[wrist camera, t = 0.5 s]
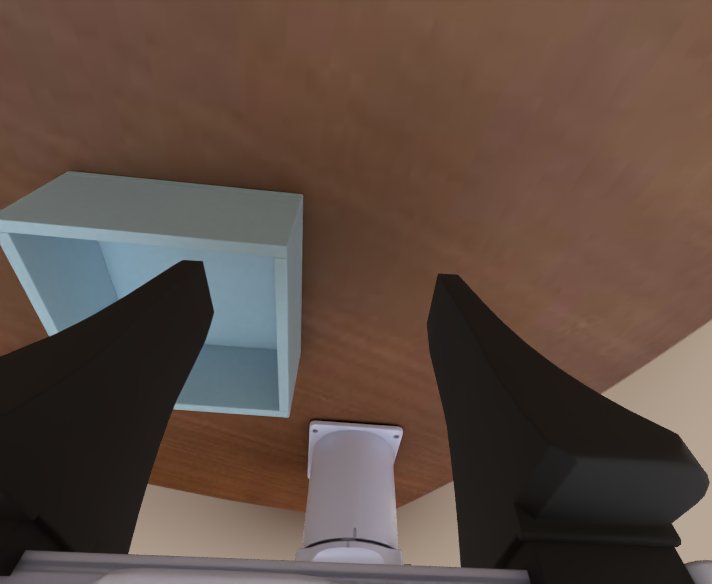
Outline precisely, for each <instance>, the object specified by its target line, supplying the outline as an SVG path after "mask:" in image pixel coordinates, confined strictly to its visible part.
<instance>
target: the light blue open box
mask: <svg viewBox="0 0 712 584" xmlns="http://www.w3.org/2000/svg"><path fill="white" fill-rule="evenodd" d="M302 242H303V194H296V193H286V192H275V191H265V190H255V189H245V188H235V187H225V186H215V185H205V184H195V183H185V182H175V181H165V180H155V179H145V178H135V177H125V176H115V175H105V174H95V173H84V172H74V171H68V172H66V173H64V174H62V175H61V176H59V177H57V178H56V179H54V180H52V181H50V182H49V183H47V184H45V185H43V186H42V187H40V188H38V189H37V190H35V191H33V192H31V193H30V194H28V195H26V196H25V197H23V198H21V199H19V200H18V201H16V202H14V203H12V204H11V205H9V206H7V207H6V208H4V209H2V210H0V245H1V247H2V249H3V251H4V252H5V254H6V256H7V258H8V260H9V262H10V264H11V266H12V267H13V269H14V271H15V273H16V275H17V277H18V279H19V281H20V282H21V284H22V286H23V288H24V290H25V292H26V294H27V296H28V297H29V299H30V301H31V303H32V305H33V307H34V309H35V311H36V312H37V314H38V316H39V318H40V320H41V322H42V324H43V325H44V327H45V329H46V331H47V333H48V335H49V336H51V335H54V334H56V333H58V332H60V331H62V330H64V329H66V328H68V327H70V326H72V325H74V324H77V323H78V322H80V321H82V320H84V319H86V318H88V317H90V316H92V315H94V314H95V313H97V312H99V311H101V310H102V309H104V308H106V307H107V306H109V305H111V304H113V303H114V302H116V301H118V300H119V299H121V298H123V297H124V296H126V295H128V294H129V293H131V292H132V291H134V290H136V289H137V288H139V287H140V286H142V285H143V284H145V283H147V282H148V281H150V280H151V279H153V278H154V277H156V276H157V275H159V274H160V273H162V272H164V271H165V270H167V269H168V268H170V267H171V266H173V265H175V264H176V263H178V262H180V261H182V260H193V261H203V264H204V268H205V273H206V277H207V282H208V286H209V291H210V295H211V300H212V304H213V309H214V315H213V319H212V322H211V326H210V329H209V332H208V335H207V338H206V341H205V343H204V345H203V347H202V349H201V351H200V354H199V356H198V358H197V360H196V362H195V364H194V366H193V368H192V370H191V372H190V374H189V376H188V378H187V380H186V382H185V384H184V387H183V389H182V391H181V393H180V395H179V397H178V399H177V401H176V403H175V406H174V408H173V409H178V410H192V411H205V412H219V413H233V414H247V415H260V416H274V417H289V415H290V410H291V404H292V399H293V393H294V387H295V382H296V376H297V371H298V365H299V360H300V354H301V306H302Z"/></svg>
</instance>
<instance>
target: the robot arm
mask: <svg viewBox="0 0 712 584" xmlns="http://www.w3.org/2000/svg"><path fill="white" fill-rule="evenodd" d="M213 315H214V309H213V304H212V300H211V295H210V291H209V286H208V282H207V277H206V273H205V268H204V264H203V261H193V260H182V261H180V262H178V263H176V264H175V265H173V266H171V267H170V268H168V269H167V270H165V271H164V272H162V273H160V274H159V275H157V276H156V277H154V278H153V279H151V280H150V281H148V282H147V283H145V284H143V285H142V286H140V287H139V288H137V289H136V290H134V291H132V292H131V293H129V294H128V295H126V296H124V297H123V298H121V299H119V300H118V301H116V302H114V303H113V304H111V305H109V306H107V307H106V308H104V309H102V310H101V311H99V312H97V313H95V314H94V315H92V316H90V317H88V318H86V319H84V320H82V321H80V322H78V323H77V324H74V325H72V326H70V327H68V328H66V329H64V330H62V331H60V332H58V333H56V334H54V335H51V336H49V337H47V338H45V339H42V340H40V341H37V342H35V343H33V344H30V345H28V346H25V347H23V348H21V349H18V350H16V351H13V352H11V353H9V354H6V355H3V356H1V357H0V584H712V561H710V560H709V561H708V560H703V561H694V562H689V563H686V564H684V563H683V562H682V560H681V558H680V556H679V555H678V553H677V551H676V549H675V547H678V546H679V545H681V539H680V537H679V536H678V534H677V532H676V530H675V529H674V527H673V525H672V524H671V523H673V522H674V521H675V520H676V519H678V518H679V517H680V516H681V515H683V514H684V513H685V512H687V511H688V510H689V509H690V508H692V507H693V506H694V505H696V504H697V503H698V502H699V501H700V500H701V499H702V498H703V497H704V496H705V494H706V491H707V488H708V486H709V479H708V475H707V474H706V472H705V471H704V470H703V468H702V467H701V465H700V464H699V463H698V461H697V460H696V458H695V457H694V456H693V454H692V453H691V452H690V450H689V449H688V447H687V446H686V445H685V443H684V442H683V441H682V439H681V438H680V437H679V435H678V434H676V433H674V432H672V431H670V430H668V429H666V428H664V427H662V426H660V425H658V424H656V423H654V422H652V421H650V420H648V419H646V418H643V417H641V416H640V415H637V414H636V413H633V412H631V411H629V410H628V409H626V408H624V407H622V406H620V405H618V404H617V403H615V402H613V401H611V400H610V399H608V398H606V397H604V396H602V395H601V394H599V393H597V392H596V391H594V390H592V389H591V388H589V387H587V386H586V385H584V384H582V383H581V382H579V381H578V380H576V379H575V378H573V377H572V376H570V375H569V374H567V373H566V372H564V371H563V370H561V369H560V368H558V367H557V366H556V365H554V364H553V363H551V362H550V361H549V360H547V359H546V358H545V357H543V356H542V355H541V354H539V353H538V352H537V351H536V350H534V349H533V348H532V347H530V346H529V345H528V344H527V343H526V342H524V341H523V340H522V339H521V338H520V337H519V336H517V335H516V334H515V333H514V332H513V331H512V330H511V329H510V328H509V327H508V326H506V325H505V324H504V323H503V322H502V321H501V320H500V319H499V318H498V317H497V316H496V315H495V314H494V313H493V312H492V311H491V310H490V309H489V308H488V307H487V306H486V305H485V304H484V303H483V302H482V300H481V299H480V298H479V297H478V296H477V295H476V294H475V293H474V292H473V291H472V290H471V288H470V287H469V286H468V285H467V284H466V283H465V282H464V281H463V280H462V279H461V278H460V277H459V276H458V275H452V274H438V276H437V281H436V285H435V290H434V294H433V299H432V303H431V308H430V312H429V317H428V321H427V329H428V340H429V349H430V355H431V359H432V364H433V368H434V372H435V376H436V380H437V385H438V389H439V393H440V397H441V401H442V405H443V410H444V414H445V419H446V424H447V431H448V439H449V446H450V454H451V463H452V472H453V480H454V490H455V500H456V511H457V522H458V533H459V547H460V561H461V568H460V567H436V566H435V567H434V566H412V565H411V564H404V565H403V564H402V551H401V550H400V549H398V534H397V517H396V501H395V485H394V469H393V465H394V461H395V458H396V455H397V451H398V448H399V445H400V441H401V438H402V435H403V429H402V428H401V427H398V426H384V425H370V424H356V423H342V422H329V421H312V422H310V429H309V452H308V476H307V477H308V479H310V481H309V489H308V498H307V507H306V516H305V525H304V534H303V542H302V548H298V549H297V552H296V560H295V561H285V560H259V559H234V558H208V557H183V556H182V557H181V556H158V555H131V554H128V552H129V549H130V545H131V541H132V537H133V533H134V530H135V526H136V522H137V518H138V514H139V511H140V507H141V504H142V500H143V497H144V494H145V490H146V487H147V484H148V480H149V477H150V474H151V471H152V468H153V464H154V461H155V458H156V455H157V452H158V449H159V446H160V443H161V440H162V437H163V435H164V432H165V429H166V426H167V423H168V421H169V418H170V415H171V413H172V410H173V408H174V406H175V403H176V401H177V399H178V397H179V395H180V393H181V391H182V389H183V387H184V384H185V382H186V380H187V378H188V376H189V374H190V372H191V370H192V368H193V366H194V364H195V362H196V360H197V358H198V356H199V354H200V351H201V349H202V347H203V345H204V343H205V341H206V338H207V335H208V332H209V329H210V326H211V322H212V319H213Z"/></svg>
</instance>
